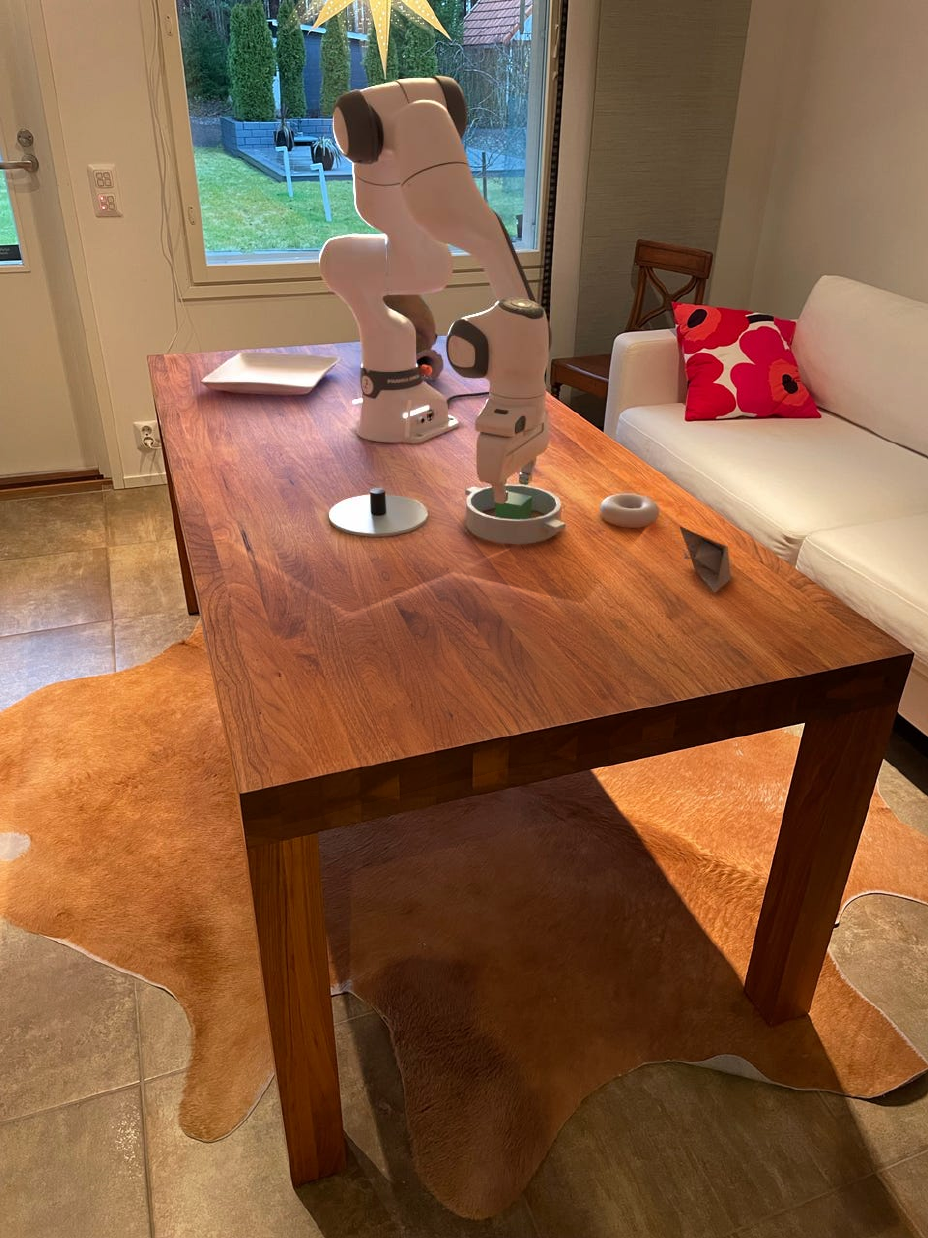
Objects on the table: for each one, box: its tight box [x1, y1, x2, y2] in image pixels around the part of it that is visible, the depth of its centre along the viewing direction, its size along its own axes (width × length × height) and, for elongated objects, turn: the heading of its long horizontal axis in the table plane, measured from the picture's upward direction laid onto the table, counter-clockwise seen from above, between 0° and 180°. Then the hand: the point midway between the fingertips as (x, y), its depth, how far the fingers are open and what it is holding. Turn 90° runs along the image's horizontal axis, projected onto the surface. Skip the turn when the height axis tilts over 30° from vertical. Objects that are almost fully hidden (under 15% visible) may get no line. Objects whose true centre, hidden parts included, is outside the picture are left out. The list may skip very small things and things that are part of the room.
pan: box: [464, 483, 567, 545], centre depth 153 cm, size 16×21×4 cm
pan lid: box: [328, 487, 429, 538], centre depth 154 cm, size 17×17×5 cm
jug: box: [383, 290, 445, 381], centre depth 235 cm, size 20×20×30 cm
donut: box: [599, 492, 660, 529], centre depth 156 cm, size 10×4×10 cm
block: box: [494, 492, 532, 519], centre depth 152 cm, size 5×5×5 cm
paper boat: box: [678, 525, 732, 594], centre depth 138 cm, size 12×6×9 cm
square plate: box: [200, 352, 341, 396], centre depth 225 cm, size 27×27×4 cm
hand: (513, 492), depth 150 cm, fingers open, 8 cm apart
